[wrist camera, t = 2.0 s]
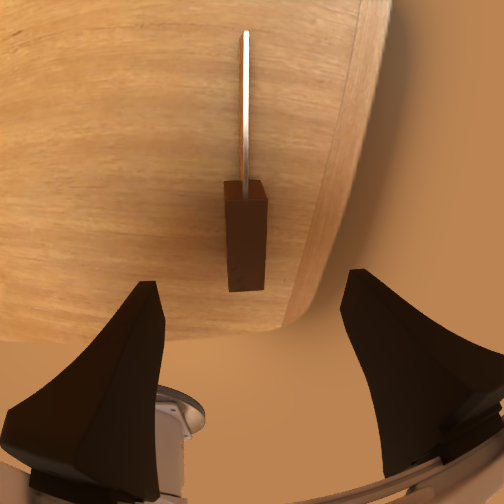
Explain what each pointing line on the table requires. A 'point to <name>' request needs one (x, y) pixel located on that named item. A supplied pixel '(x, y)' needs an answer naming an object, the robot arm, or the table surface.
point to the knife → (245, 204)
